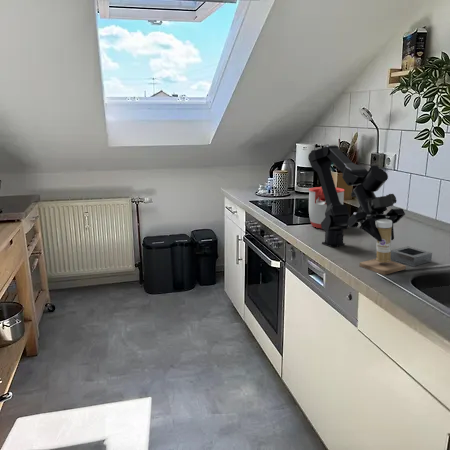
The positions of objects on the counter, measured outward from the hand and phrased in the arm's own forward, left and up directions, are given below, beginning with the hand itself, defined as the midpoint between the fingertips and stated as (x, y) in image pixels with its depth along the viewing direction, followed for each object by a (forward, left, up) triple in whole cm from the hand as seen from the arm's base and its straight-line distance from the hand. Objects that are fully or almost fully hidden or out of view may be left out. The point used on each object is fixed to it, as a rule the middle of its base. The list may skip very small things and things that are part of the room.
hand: (386, 240), depth 135 cm
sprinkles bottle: (-1, +1, -7) cm, 8 cm away
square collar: (-1, +14, -9) cm, 17 cm away
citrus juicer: (-52, +23, -10) cm, 58 cm away
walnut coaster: (-1, 0, -9) cm, 10 cm away
